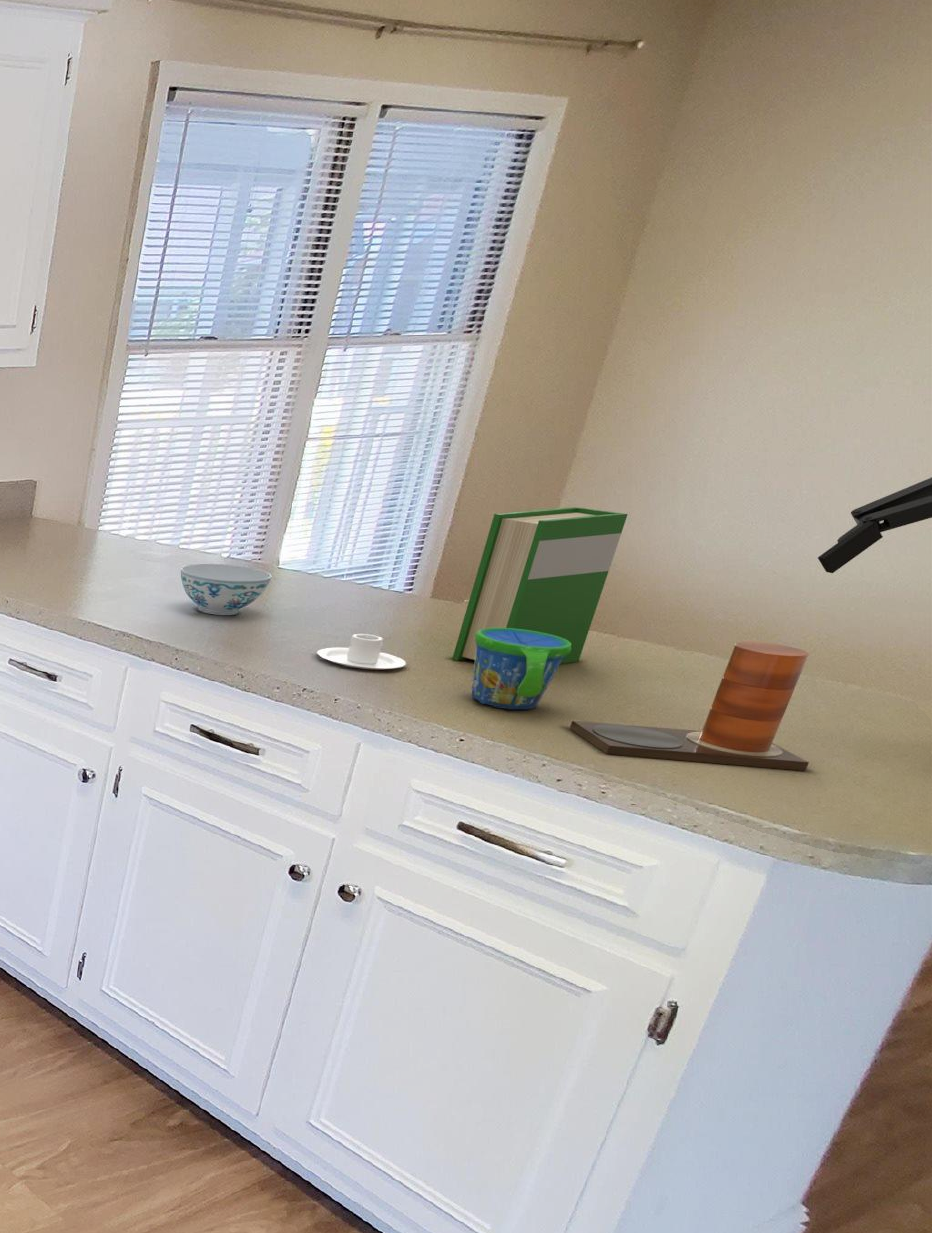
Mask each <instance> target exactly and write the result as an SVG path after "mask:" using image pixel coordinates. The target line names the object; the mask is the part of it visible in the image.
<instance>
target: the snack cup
mask: <svg viewBox="0 0 932 1233" xmlns="http://www.w3.org/2000/svg"><path fill="white" fill-rule="evenodd" d="M475 642H476V645H477V648H476V649H477V650H476V655H475V660H474V664H473V672H472V677H473V678H472V683H471V697H472V698H473V699H474V700H477V701H478V702H479V703H480V704H482V705H489V706H491V707H494V708H497V709H503V710H517V711H518V710H520V711H523V710H530V709H535V708H536V707H537V706H538V704H539V703H540V701H541V699H542V697H543V695H544V694H545V691H546V690H547V688H548V686H549V684H550V683H551V682H552V680H553V678H554V676H555V674H556V672H557V671H558V668H559V666H560V664H562V663H561V661H562V659H563V658H564V657H565V656H566V655H568V654H569V653H570V652H571V642H569V641H568V640H566V639H564V638H561V637H558V636H555V635H551V634H547V633H542V632H537V631H531V630H523V629H514V628H486V629H481V630H479V631H478V632H476V634H475Z"/></svg>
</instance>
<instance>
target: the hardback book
mask: <svg viewBox="0 0 932 1233" xmlns="http://www.w3.org/2000/svg"><path fill="white" fill-rule="evenodd" d="M628 515H629V514H628V513H623V512H616V511H607V510H601V509H593V508H586V507H578V506H571V507H559V508H557V507H556V508H546V509H535V510H534V509H533V510H525V511H512V512H500V513H494V514H493V518H492V521H491V524H490V528H489V531H488V534H487V537H486V541H485V544H484V547H483V551H482V555H481V557H480V562H479V565H478V569H477V572H476V576H475V580H474V583H473V586H472V589H471V591H470V592H471V593H470V596H469V599H468V603H467V607H466V610H465V614H464V616H463V620H462V624H461V627H460V631H459V633H458V637H457V641H456V643H455V644H456V645H455V648H454V651H453V654H452V658H451V659H452V660H453V661H458V662H459V661H466V660H467V661H468V660H474V661H475V655H476V650H477V649H476V648H477V645H476V642H475V634H476V632H478V631H479V630H481V629H486V628H514V629H523V630H531V631H537V632H542V633H547V634H551V635H555V636H558V637H561V638H564V639H566V640H568V641H569V642H571V652H570V653H569V654H568V655H566V656H565V657H564V658H563V659H562V661H561V663H560V664H567V663H573V662H574V663H575V662H579V661H580V658H581V655H582V652H583V649H584V646H585V644H586V640H587V637H588V634H589V631H590V629H591V625H592V623H593V620H594V616H595V614H596V611H597V608H598V604H599V601H600V599H601V595H602V592H603V589H604V587H605V583H606V581H607V578H608V575H609V572H610V569H611V566H612V563H613V560H614V557H615V553H616V550H617V547H618V545H619V542H620V538H621V535H622V533H623V529H624V527H625V524H626V521H627V518H628Z"/></svg>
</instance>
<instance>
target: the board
mask: <svg viewBox="0 0 932 1233" xmlns="http://www.w3.org/2000/svg"><path fill="white" fill-rule="evenodd" d="M569 730H571V731H573V732H574V733H575V734H576V735H578V736H580V737H581V738H583V739H584V740H585V741H587V742H588V743H590V744H591V745H593V746H594V747H596V748H597V749H599V750H600V751H601V752H603V753H604V754H606V755H613V756H625V757H637V758H649V759H650V758H651V759H661V760H672V761H673V760H674V761H683V762H695V763H709V764H719V765H720V764H721V765H731V766H732V765H733V766H742V767H753V768H764V769H765V768H767V769H778V770H788V771H789V770H790V771H801V772H806V770H807V768H808V765H809V761H807V760H805V759H804V758H802V757H801V756H798V755H796V754H794V753H792V752H790V751H788V750H787V749H784V748H782V747H781V746H779V745H777V744H775V743H773V742H772V745H771V747H770V749H769V751H766V752H746V751H738V750H732V749H727V748H722V747H719V746H715V745H712V744H709V743H707V742H704V741H703V740H701V739H700V734H701V732H702V730H695V729H684V728H683V729H682V728H672V727H671V728H669V727H657V726H655V727H654V726H646V725H645V726H643V725H642V726H641V725H633V724H632V725H630V724H620V723H619V724H617V723H606V722H593V721H583V720H582V721H581V720H571V723H570V726H569Z"/></svg>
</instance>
